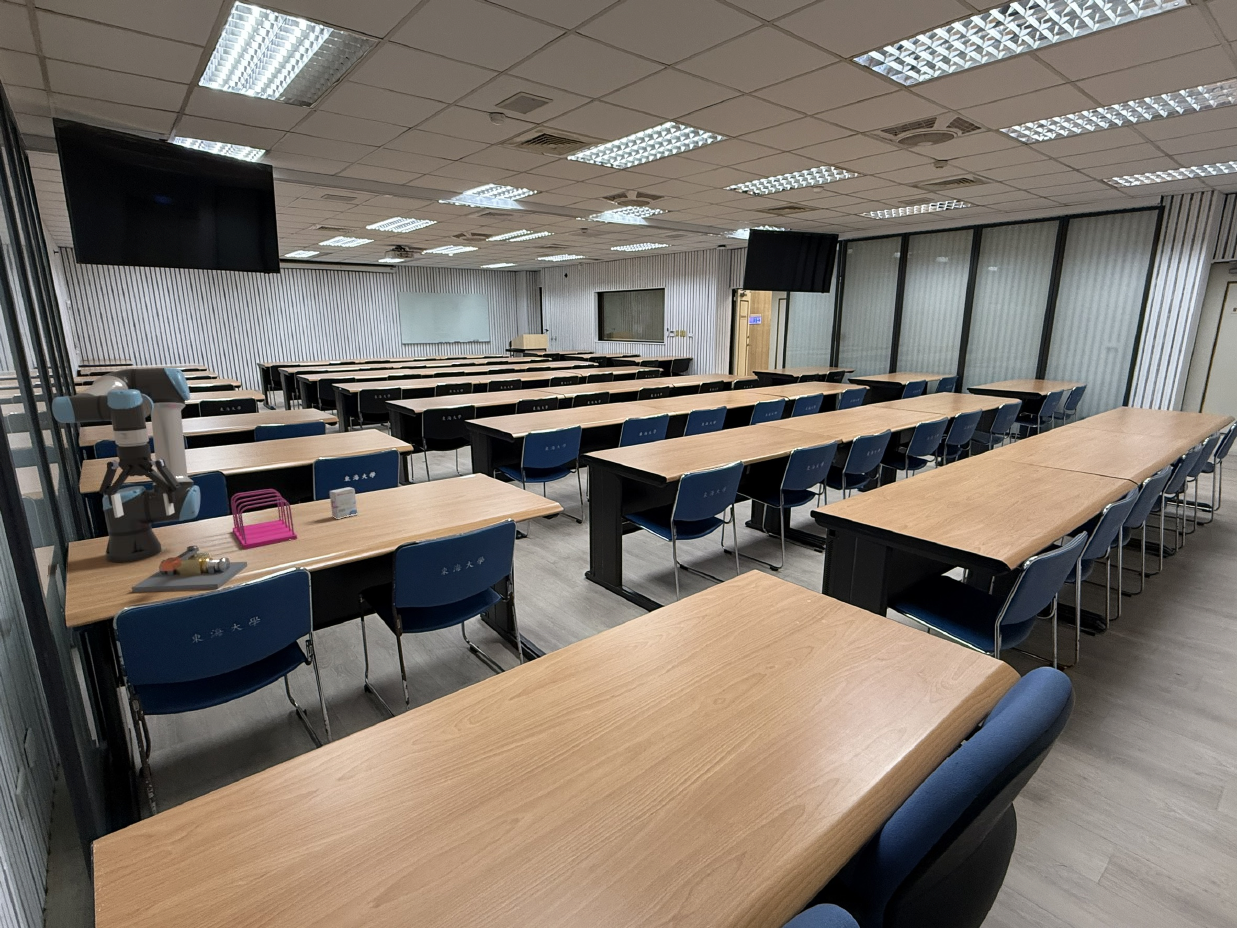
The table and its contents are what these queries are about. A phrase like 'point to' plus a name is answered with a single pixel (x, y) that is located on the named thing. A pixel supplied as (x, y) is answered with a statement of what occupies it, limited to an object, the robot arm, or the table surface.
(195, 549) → the valve lever
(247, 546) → the file sorter
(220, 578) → the mounting board
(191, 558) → the valve pipe
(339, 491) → the ink box
